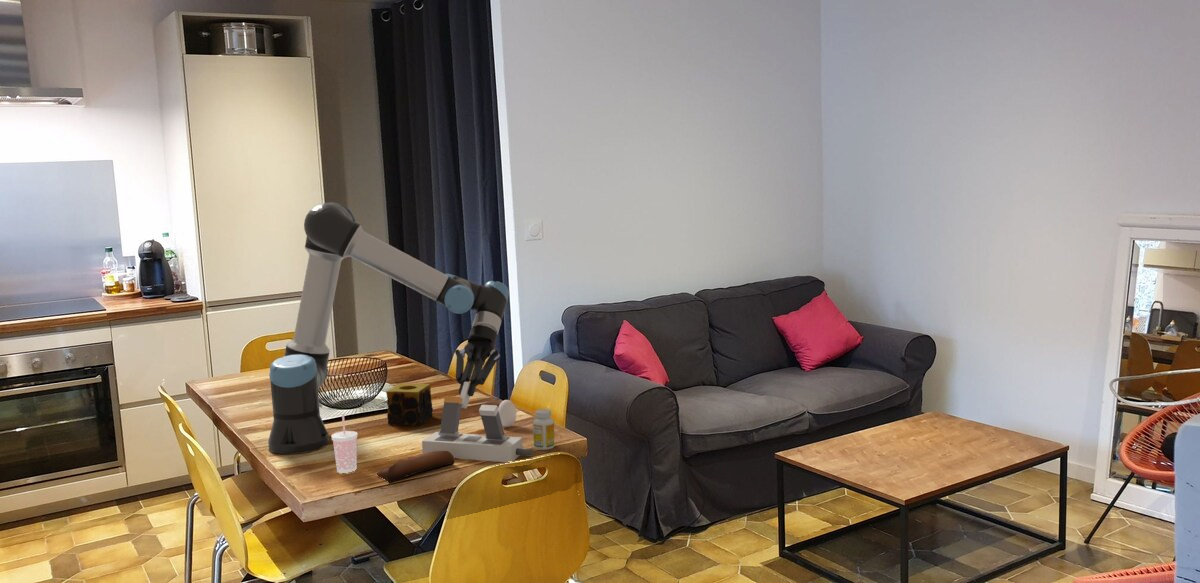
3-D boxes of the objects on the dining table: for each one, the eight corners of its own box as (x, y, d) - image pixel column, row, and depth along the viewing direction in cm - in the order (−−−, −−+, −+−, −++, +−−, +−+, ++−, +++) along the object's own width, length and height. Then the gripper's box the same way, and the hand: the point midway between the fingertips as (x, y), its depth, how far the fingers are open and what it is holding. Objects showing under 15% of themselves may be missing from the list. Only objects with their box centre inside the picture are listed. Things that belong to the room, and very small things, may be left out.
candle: (420, 426, 255) (418, 392, 254) (386, 425, 257) (384, 391, 256) (433, 416, 265) (432, 383, 264) (401, 415, 267) (399, 382, 266)
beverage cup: (330, 469, 220) (326, 413, 218) (355, 464, 224) (351, 409, 222) (337, 476, 215) (333, 419, 213) (363, 471, 218) (359, 415, 216)
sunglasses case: (435, 457, 227) (442, 437, 224) (450, 476, 223) (456, 457, 220) (371, 475, 215) (377, 455, 212) (385, 496, 211) (391, 476, 208)
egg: (509, 430, 249) (507, 403, 248) (493, 427, 252) (492, 401, 251) (520, 425, 253) (519, 398, 252) (505, 423, 256) (504, 396, 255)
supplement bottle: (534, 450, 231) (532, 414, 229) (533, 444, 236) (532, 408, 234) (555, 449, 231) (553, 413, 230) (554, 443, 236) (552, 407, 235)
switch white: (488, 435, 228) (479, 404, 223) (507, 436, 227) (499, 405, 222) (485, 440, 227) (476, 410, 221) (504, 442, 225) (496, 411, 220)
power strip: (422, 456, 229) (421, 440, 228) (437, 446, 236) (436, 431, 236) (526, 463, 221) (525, 447, 220) (537, 453, 228) (537, 437, 228)
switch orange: (440, 436, 232) (446, 397, 234) (459, 437, 230) (464, 398, 233) (437, 434, 230) (442, 396, 233) (455, 436, 228) (461, 396, 231)
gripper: (510, 339, 252) (489, 414, 238) (467, 338, 256) (444, 411, 242) (502, 324, 246) (480, 399, 233) (458, 323, 250) (434, 397, 236)
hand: (462, 405), depth 237 cm, fingers closed
